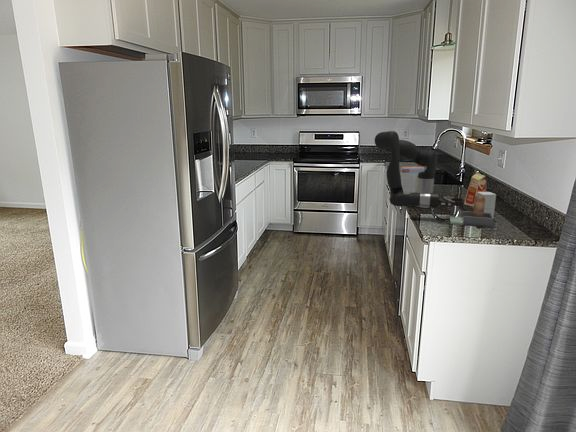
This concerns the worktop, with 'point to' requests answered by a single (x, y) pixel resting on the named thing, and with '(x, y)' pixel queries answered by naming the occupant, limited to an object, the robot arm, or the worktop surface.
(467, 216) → the cart bed
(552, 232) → the worktop surface
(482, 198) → the yam
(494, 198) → the supplement box
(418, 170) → the cracker box
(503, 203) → the worktop surface
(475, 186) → the milk carton
